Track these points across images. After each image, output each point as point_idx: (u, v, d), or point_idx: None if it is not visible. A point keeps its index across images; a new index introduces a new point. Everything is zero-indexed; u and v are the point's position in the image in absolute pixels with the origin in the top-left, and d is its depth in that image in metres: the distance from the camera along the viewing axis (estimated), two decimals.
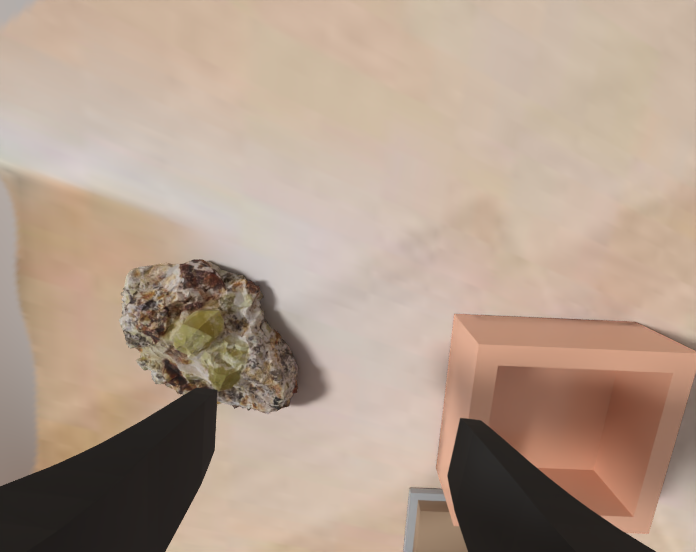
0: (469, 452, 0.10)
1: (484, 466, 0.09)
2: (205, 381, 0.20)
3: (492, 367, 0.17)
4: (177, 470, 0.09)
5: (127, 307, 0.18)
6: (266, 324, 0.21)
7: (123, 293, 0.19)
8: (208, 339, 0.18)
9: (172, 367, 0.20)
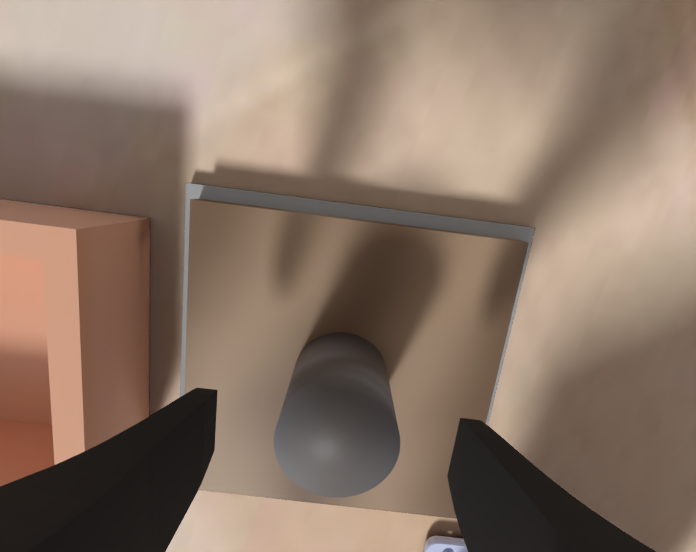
0: (469, 452, 0.10)
1: (484, 466, 0.09)
2: None
3: None
4: (176, 471, 0.09)
5: None
6: None
7: None
8: None
9: None
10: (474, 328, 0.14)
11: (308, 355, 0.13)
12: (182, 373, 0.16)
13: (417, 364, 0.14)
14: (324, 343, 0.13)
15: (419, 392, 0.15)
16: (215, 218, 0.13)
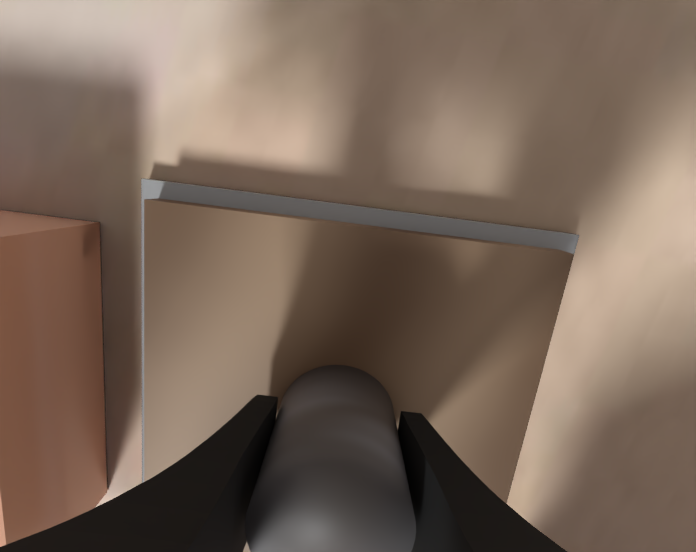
0: (404, 445, 0.10)
1: (413, 458, 0.09)
2: None
3: None
4: (251, 478, 0.09)
5: None
6: None
7: None
8: None
9: None
10: (503, 360, 0.11)
11: (295, 397, 0.10)
12: (143, 410, 0.13)
13: (431, 403, 0.12)
14: (315, 380, 0.11)
15: None
16: (177, 223, 0.10)
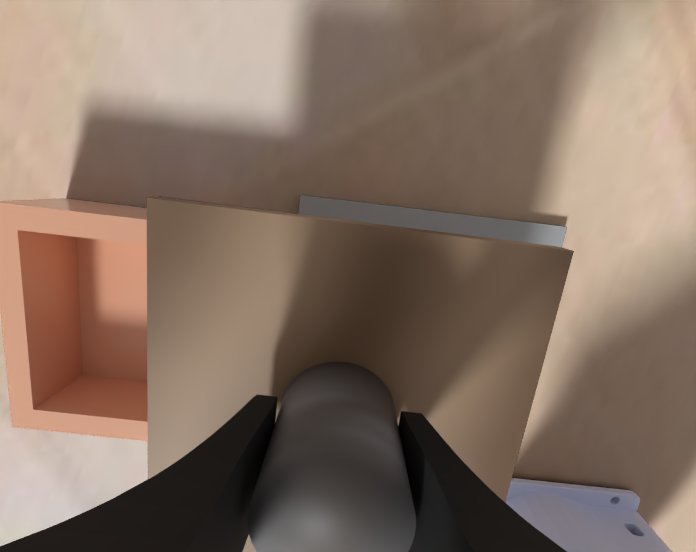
0: (404, 445, 0.10)
1: (413, 458, 0.09)
2: None
3: (35, 414, 0.17)
4: (251, 478, 0.09)
5: None
6: None
7: None
8: None
9: None
10: (502, 356, 0.11)
11: (296, 394, 0.10)
12: None
13: (432, 399, 0.12)
14: (317, 376, 0.11)
15: None
16: (179, 221, 0.10)
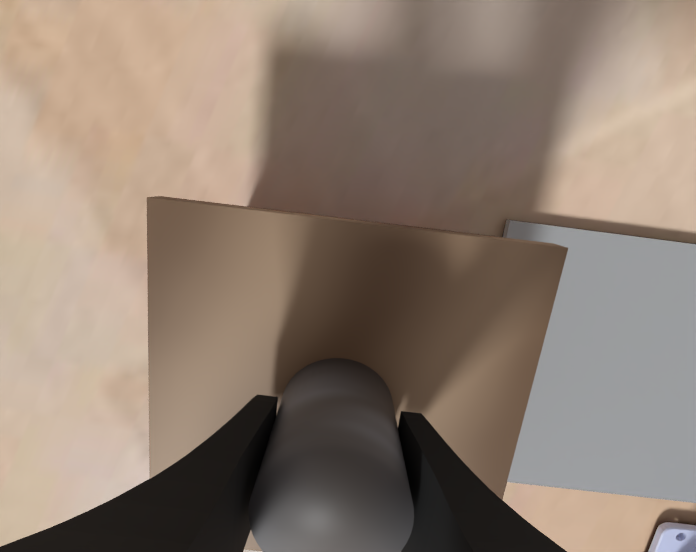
0: (404, 445, 0.10)
1: (413, 458, 0.09)
2: None
3: None
4: (251, 479, 0.09)
5: None
6: None
7: None
8: None
9: None
10: (499, 352, 0.12)
11: (296, 390, 0.11)
12: None
13: (430, 395, 0.12)
14: (316, 373, 0.11)
15: None
16: (179, 221, 0.11)
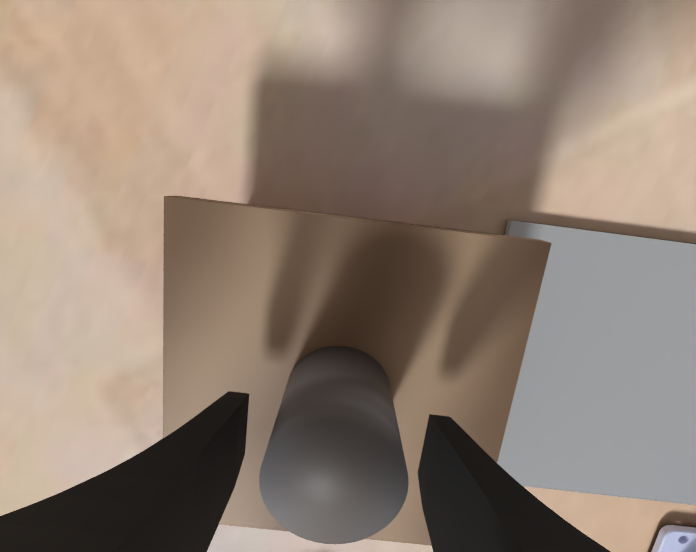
0: (435, 448, 0.10)
1: (447, 462, 0.09)
2: None
3: None
4: (216, 475, 0.09)
5: None
6: None
7: None
8: None
9: None
10: (489, 340, 0.12)
11: (301, 374, 0.11)
12: None
13: (424, 380, 0.13)
14: (319, 359, 0.12)
15: (427, 411, 0.13)
16: (193, 218, 0.12)
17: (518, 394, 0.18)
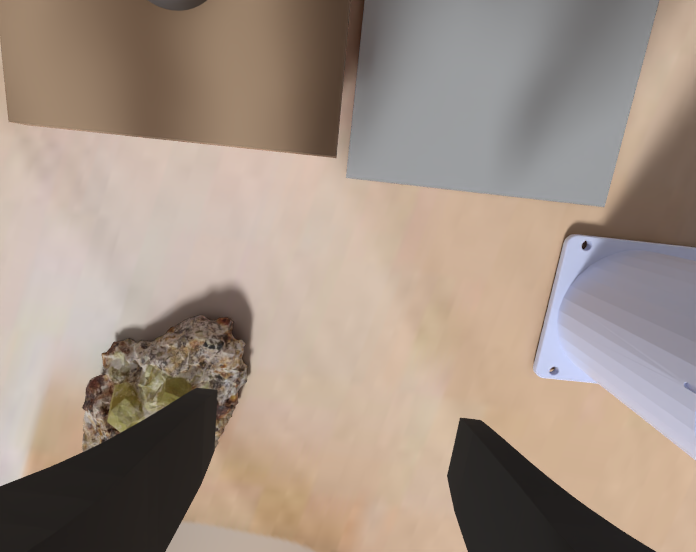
0: (469, 452, 0.10)
1: (484, 466, 0.09)
2: None
3: None
4: (176, 470, 0.09)
5: None
6: (156, 339, 0.21)
7: None
8: (127, 401, 0.19)
9: None
10: None
11: None
12: (358, 60, 0.17)
13: None
14: None
15: None
16: None
17: (405, 71, 0.17)
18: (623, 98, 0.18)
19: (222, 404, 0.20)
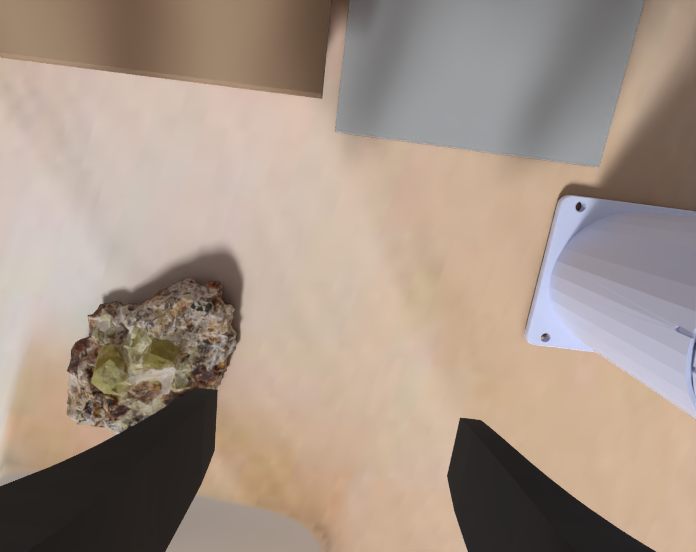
0: (469, 452, 0.10)
1: (484, 466, 0.09)
2: (188, 371, 0.20)
3: None
4: (176, 471, 0.09)
5: (91, 425, 0.19)
6: (143, 303, 0.20)
7: None
8: (111, 362, 0.18)
9: (171, 398, 0.20)
10: None
11: None
12: None
13: None
14: None
15: None
16: None
17: (396, 19, 0.17)
18: (620, 52, 0.17)
19: (210, 370, 0.20)
